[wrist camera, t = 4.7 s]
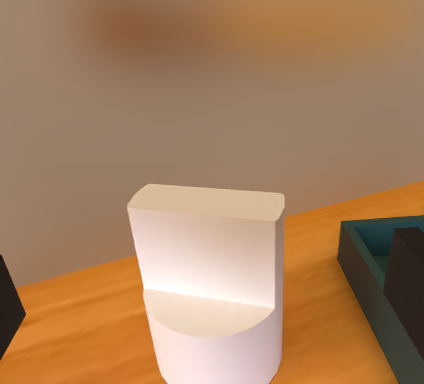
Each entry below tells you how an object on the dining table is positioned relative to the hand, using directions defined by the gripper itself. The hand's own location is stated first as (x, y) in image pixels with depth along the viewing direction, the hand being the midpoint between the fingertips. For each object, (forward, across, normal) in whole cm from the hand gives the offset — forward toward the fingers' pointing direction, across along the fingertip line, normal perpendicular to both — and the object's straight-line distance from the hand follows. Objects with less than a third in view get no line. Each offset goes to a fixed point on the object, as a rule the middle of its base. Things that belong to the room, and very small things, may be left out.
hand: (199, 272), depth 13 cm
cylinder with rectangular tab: (+9, 0, -14) cm, 17 cm away
